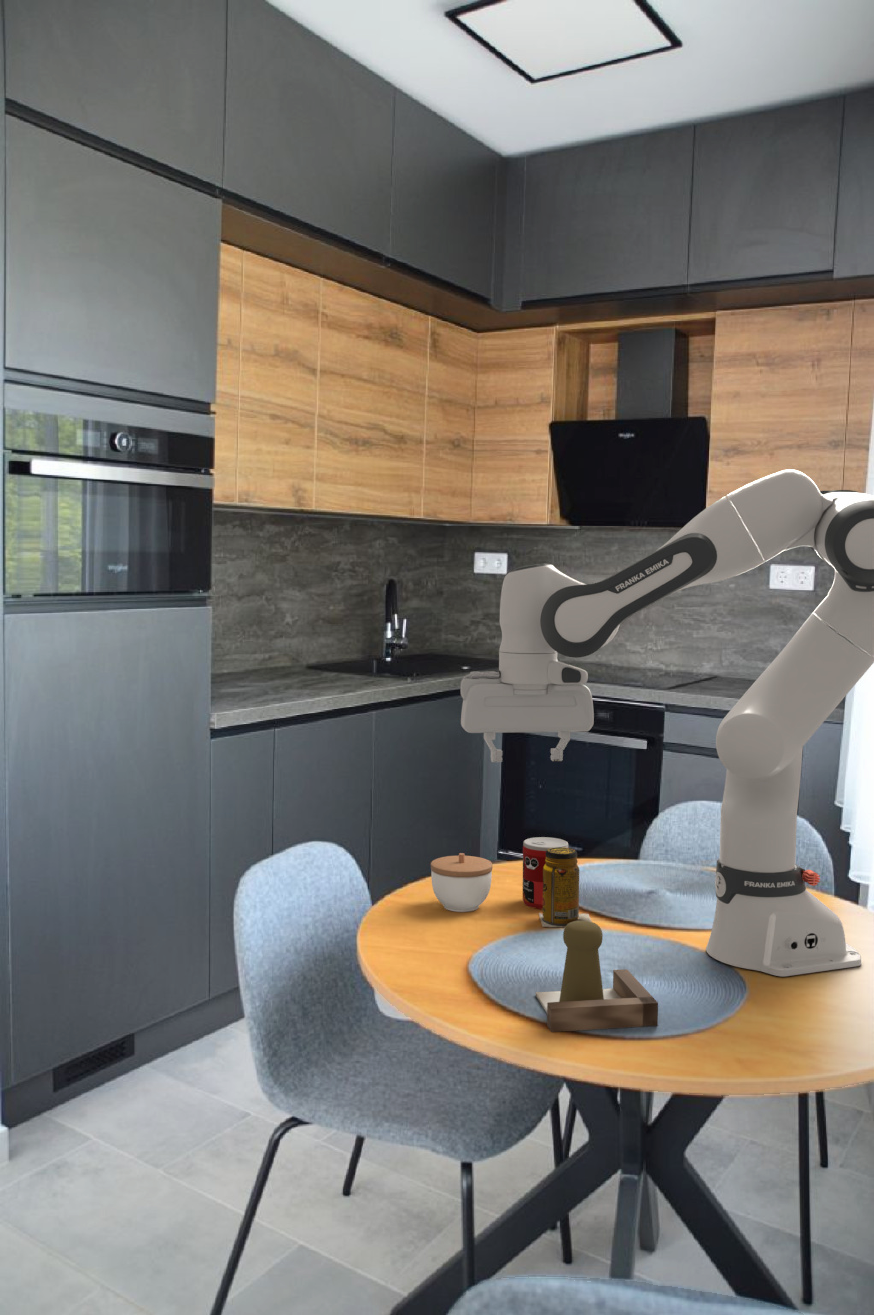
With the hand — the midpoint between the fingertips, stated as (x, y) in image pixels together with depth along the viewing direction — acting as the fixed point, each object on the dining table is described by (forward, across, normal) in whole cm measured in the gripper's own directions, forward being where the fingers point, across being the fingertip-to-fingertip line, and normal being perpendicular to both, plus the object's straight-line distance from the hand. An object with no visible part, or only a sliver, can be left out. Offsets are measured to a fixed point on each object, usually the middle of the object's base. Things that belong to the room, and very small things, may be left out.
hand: (526, 761), depth 164 cm
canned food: (+29, +9, +22) cm, 38 cm away
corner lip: (+29, +3, -25) cm, 38 cm away
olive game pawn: (+29, +2, -24) cm, 38 cm away
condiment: (+29, +10, +12) cm, 33 cm away
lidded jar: (+29, -6, +22) cm, 37 cm away
